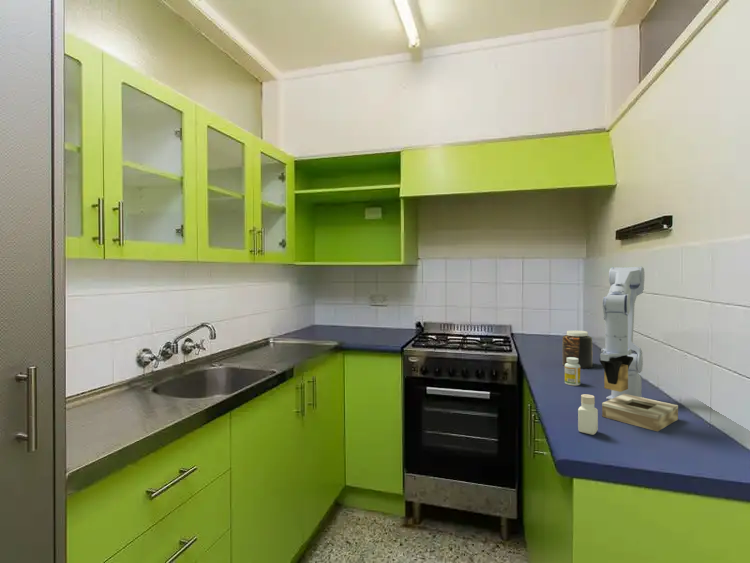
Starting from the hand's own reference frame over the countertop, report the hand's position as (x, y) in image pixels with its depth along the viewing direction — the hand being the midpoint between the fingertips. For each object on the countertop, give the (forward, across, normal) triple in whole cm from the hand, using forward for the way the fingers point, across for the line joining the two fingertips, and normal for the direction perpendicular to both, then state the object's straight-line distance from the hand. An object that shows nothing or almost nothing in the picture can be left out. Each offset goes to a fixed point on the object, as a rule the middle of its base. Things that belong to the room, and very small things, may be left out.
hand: (616, 382), depth 119 cm
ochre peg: (+2, 0, 0) cm, 2 cm away
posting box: (+10, -2, +5) cm, 11 cm away
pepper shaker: (+10, +19, +2) cm, 21 cm away
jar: (+10, -50, -39) cm, 64 cm away
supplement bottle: (+10, -21, -25) cm, 34 cm away
